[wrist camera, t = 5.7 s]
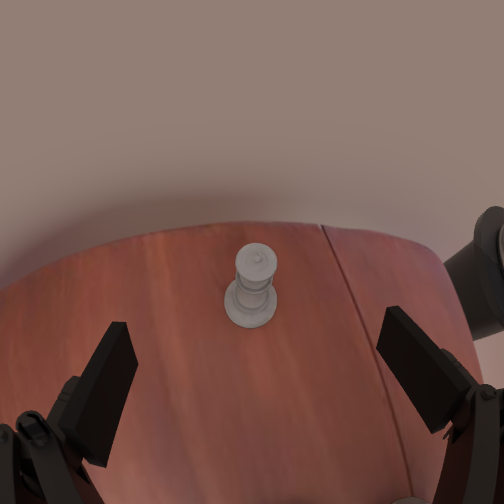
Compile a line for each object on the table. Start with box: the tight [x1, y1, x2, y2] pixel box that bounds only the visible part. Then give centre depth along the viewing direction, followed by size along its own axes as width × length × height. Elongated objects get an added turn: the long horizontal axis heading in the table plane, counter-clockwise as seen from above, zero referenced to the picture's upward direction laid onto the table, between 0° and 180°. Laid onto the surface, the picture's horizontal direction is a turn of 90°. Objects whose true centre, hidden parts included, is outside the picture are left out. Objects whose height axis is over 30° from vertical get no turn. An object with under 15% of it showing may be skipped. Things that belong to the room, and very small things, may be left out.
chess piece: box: [224, 243, 277, 328], centre depth 19 cm, size 4×4×10 cm
